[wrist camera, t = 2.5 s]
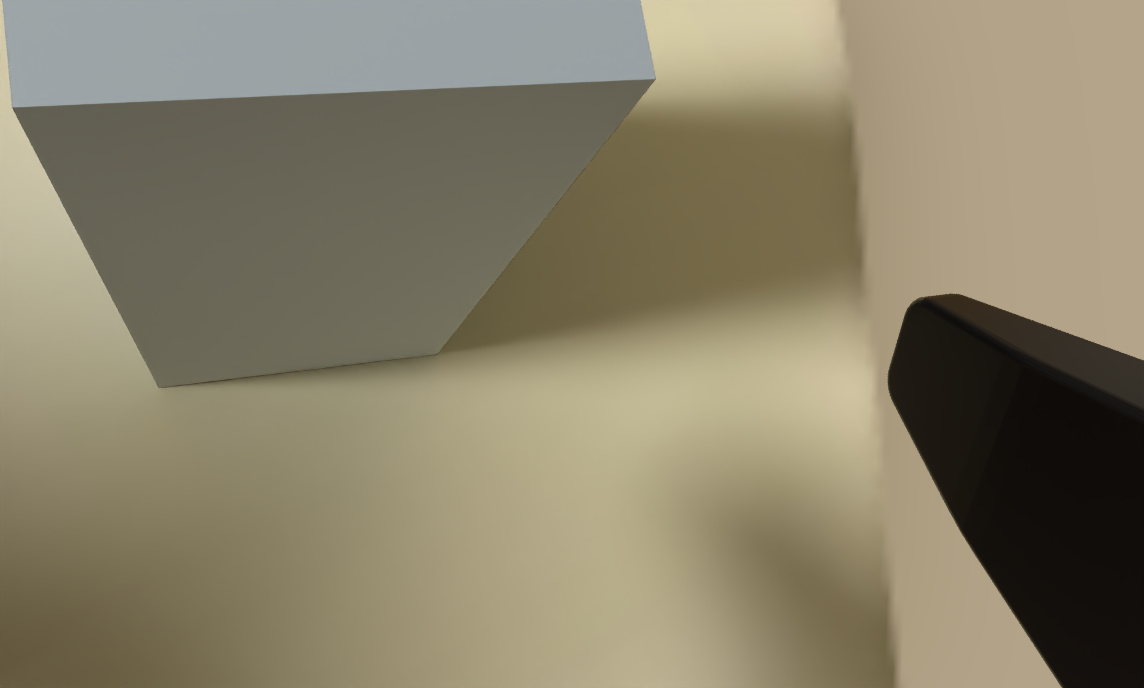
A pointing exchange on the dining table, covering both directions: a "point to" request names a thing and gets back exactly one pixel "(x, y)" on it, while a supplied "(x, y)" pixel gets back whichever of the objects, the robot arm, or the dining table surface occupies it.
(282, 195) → the slate post
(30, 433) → the dining table surface
